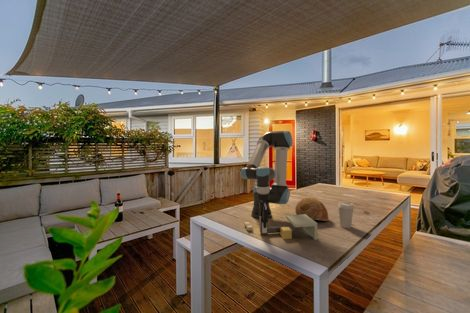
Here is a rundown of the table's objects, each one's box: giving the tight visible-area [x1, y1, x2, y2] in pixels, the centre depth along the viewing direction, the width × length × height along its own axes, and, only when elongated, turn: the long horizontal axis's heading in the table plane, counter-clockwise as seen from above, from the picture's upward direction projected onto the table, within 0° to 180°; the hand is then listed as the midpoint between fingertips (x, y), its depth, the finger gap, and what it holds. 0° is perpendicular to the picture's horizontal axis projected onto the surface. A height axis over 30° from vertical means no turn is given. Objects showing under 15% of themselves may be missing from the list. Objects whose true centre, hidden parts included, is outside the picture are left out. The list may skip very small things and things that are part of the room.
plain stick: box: [243, 221, 254, 232], centre depth 146 cm, size 10×3×3 cm, turn 13°
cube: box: [280, 227, 293, 240], centre depth 132 cm, size 5×5×5 cm
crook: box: [258, 216, 296, 237], centre depth 134 cm, size 10×18×10 cm, turn 97°
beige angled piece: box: [285, 214, 318, 241], centre depth 135 cm, size 16×13×10 cm
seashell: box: [295, 197, 329, 222], centre depth 161 cm, size 21×20×15 cm
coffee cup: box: [337, 201, 355, 229], centre depth 146 cm, size 10×10×15 cm
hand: (263, 231), depth 137 cm, fingers closed on crook, 4 cm apart
